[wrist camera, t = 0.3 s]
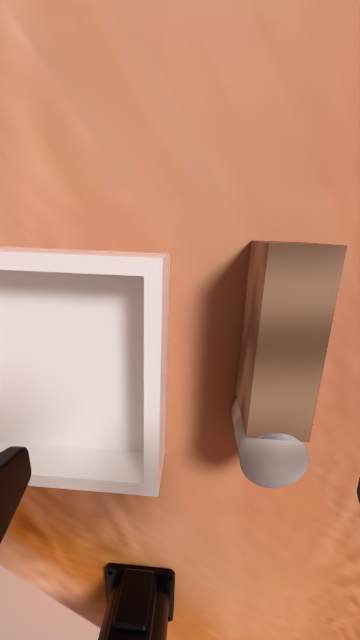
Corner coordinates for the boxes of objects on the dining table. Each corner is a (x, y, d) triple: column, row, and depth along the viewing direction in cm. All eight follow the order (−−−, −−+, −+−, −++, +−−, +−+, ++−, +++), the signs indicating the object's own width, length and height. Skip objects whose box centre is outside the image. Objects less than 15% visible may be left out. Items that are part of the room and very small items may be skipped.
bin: (164, 454, 24) (158, 496, 20) (-70, 436, 25) (-119, 473, 21) (169, 253, 19) (162, 258, 15) (-118, 241, 20) (-192, 243, 16)
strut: (281, 436, 23) (303, 490, 18) (229, 432, 23) (237, 485, 18) (311, 242, 18) (351, 245, 14) (248, 240, 19) (265, 242, 14)
